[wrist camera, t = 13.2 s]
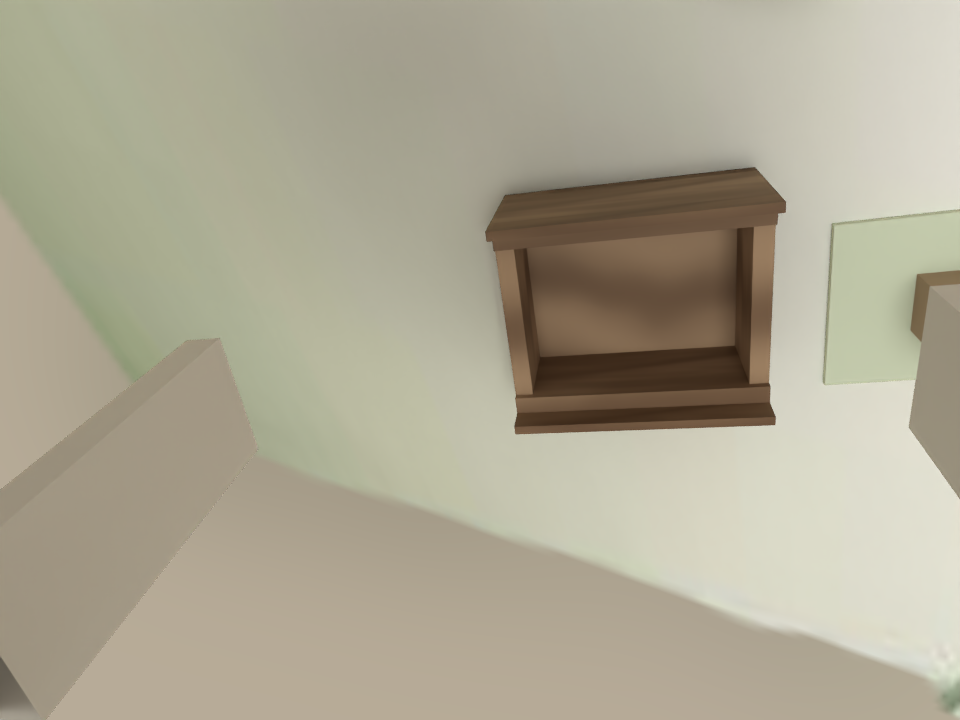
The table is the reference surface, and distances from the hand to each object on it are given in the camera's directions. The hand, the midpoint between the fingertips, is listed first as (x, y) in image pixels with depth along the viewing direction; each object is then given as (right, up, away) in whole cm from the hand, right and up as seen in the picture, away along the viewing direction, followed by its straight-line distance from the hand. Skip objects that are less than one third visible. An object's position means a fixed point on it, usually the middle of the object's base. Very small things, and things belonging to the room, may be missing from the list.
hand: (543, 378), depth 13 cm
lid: (+26, +4, +26) cm, 37 cm away
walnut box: (+8, +5, +29) cm, 30 cm away
